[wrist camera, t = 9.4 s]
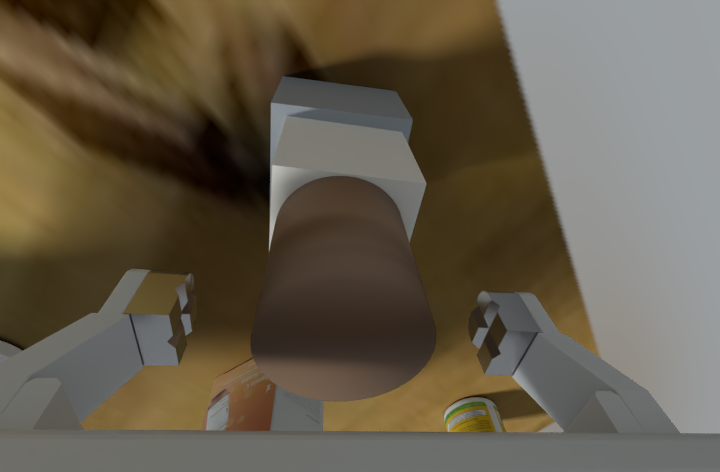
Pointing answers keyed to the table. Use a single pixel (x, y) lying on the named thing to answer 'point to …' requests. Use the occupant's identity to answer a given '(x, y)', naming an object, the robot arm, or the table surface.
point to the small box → (258, 404)
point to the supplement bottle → (473, 416)
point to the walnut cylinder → (341, 295)
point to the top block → (346, 163)
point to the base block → (336, 107)
